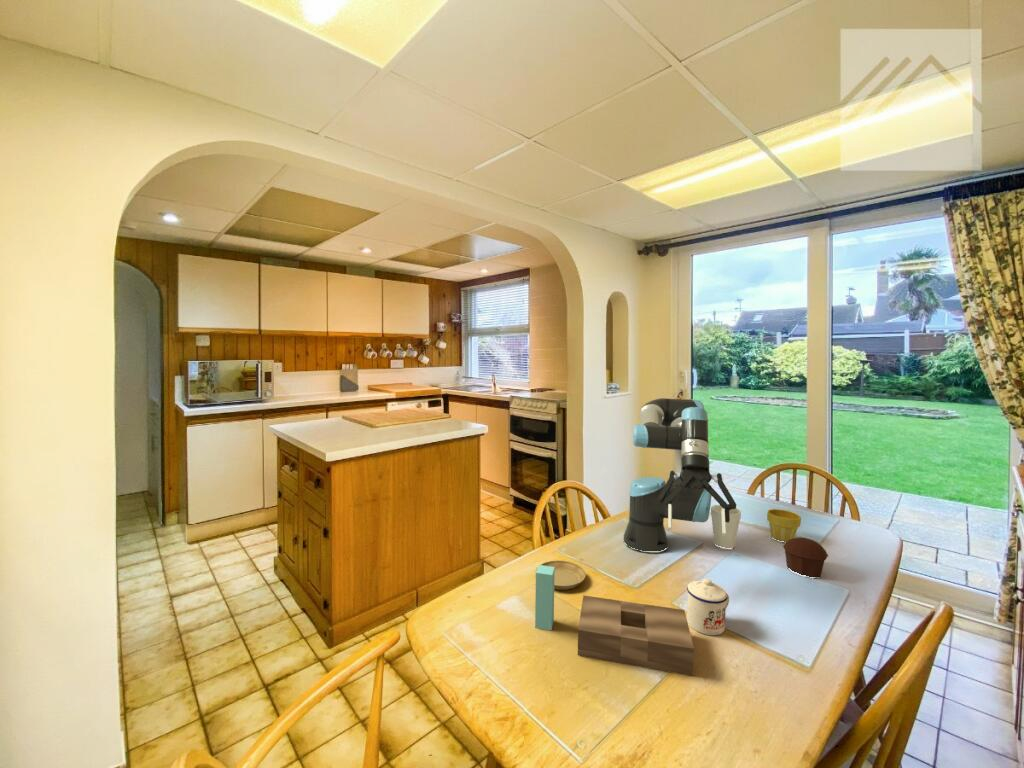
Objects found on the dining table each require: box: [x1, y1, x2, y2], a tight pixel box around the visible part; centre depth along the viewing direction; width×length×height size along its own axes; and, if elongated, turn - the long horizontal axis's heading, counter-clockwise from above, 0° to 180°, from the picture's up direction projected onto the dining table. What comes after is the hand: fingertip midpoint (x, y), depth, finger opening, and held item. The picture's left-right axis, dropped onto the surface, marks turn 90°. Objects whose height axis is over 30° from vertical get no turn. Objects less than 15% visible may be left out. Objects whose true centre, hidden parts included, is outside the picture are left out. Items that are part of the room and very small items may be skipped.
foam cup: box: [710, 504, 742, 548], centre depth 151 cm, size 10×9×13 cm
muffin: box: [782, 537, 829, 578], centre depth 133 cm, size 12×11×10 cm
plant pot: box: [766, 508, 802, 542], centre depth 156 cm, size 10×10×10 cm
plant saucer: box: [535, 559, 587, 591], centre depth 127 cm, size 15×15×3 cm
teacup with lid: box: [686, 577, 730, 636], centre depth 107 cm, size 12×9×12 cm
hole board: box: [577, 595, 695, 677], centre depth 99 cm, size 14×24×6 cm, turn 76°
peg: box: [534, 564, 555, 631], centre depth 106 cm, size 4×4×14 cm
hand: (696, 531), depth 117 cm, fingers open, 13 cm apart
